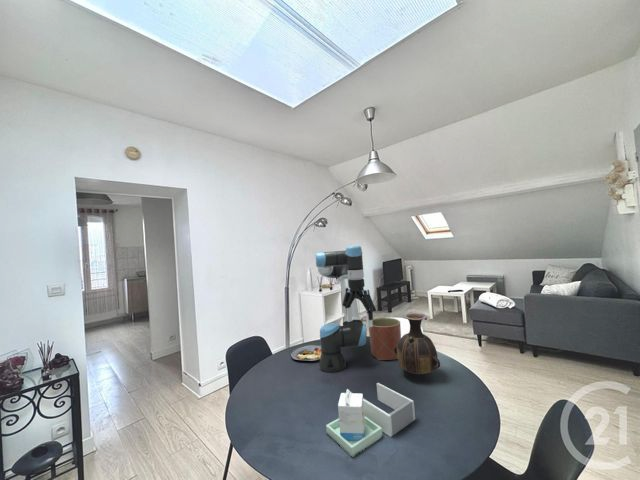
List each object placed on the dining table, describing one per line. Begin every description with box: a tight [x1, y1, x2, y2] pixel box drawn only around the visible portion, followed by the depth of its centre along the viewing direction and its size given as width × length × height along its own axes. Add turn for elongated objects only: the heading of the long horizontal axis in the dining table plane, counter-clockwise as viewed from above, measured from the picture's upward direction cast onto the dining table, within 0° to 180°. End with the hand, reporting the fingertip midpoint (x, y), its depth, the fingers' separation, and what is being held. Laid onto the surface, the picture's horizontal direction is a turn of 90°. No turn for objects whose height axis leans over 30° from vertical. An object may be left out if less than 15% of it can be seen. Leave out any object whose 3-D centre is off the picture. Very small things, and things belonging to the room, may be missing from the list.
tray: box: [325, 417, 384, 458], centre depth 93 cm, size 14×14×3 cm
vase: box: [394, 312, 441, 375], centre depth 132 cm, size 23×19×30 cm
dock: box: [363, 382, 416, 438], centre depth 102 cm, size 18×14×7 cm
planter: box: [368, 317, 402, 361], centre depth 158 cm, size 19×19×20 cm
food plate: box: [290, 344, 321, 362], centre depth 166 cm, size 25×23×4 cm
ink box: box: [337, 388, 365, 441], centre depth 93 cm, size 9×8×13 cm
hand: (359, 324), depth 122 cm, fingers open, 13 cm apart
